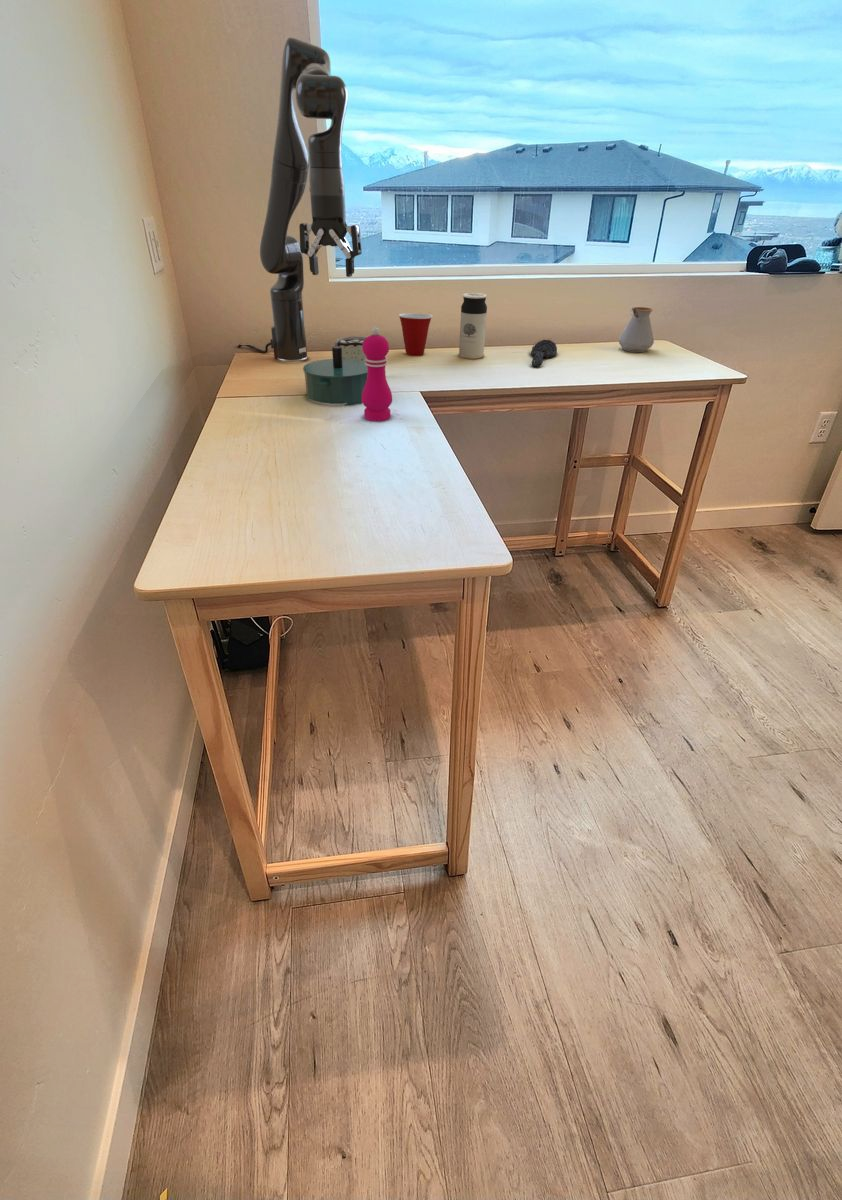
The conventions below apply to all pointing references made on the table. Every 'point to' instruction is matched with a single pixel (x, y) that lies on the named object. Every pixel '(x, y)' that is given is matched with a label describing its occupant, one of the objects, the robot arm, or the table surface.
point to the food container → (352, 347)
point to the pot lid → (336, 366)
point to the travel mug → (473, 326)
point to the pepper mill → (376, 378)
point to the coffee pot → (638, 331)
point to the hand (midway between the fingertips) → (332, 275)
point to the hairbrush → (543, 351)
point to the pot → (335, 389)
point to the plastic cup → (415, 332)
